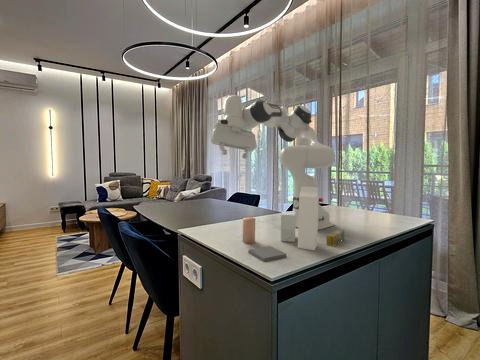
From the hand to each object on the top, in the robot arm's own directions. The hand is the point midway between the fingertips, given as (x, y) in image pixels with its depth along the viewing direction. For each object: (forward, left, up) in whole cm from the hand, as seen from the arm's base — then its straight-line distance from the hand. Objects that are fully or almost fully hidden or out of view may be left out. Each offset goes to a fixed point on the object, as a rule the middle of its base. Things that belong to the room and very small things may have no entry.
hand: (234, 156), depth 110 cm
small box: (-16, +17, -33) cm, 40 cm away
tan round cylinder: (0, +13, -33) cm, 35 cm away
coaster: (+2, +28, -33) cm, 43 cm away
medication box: (-30, +28, -33) cm, 53 cm away
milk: (-16, +28, -33) cm, 46 cm away
